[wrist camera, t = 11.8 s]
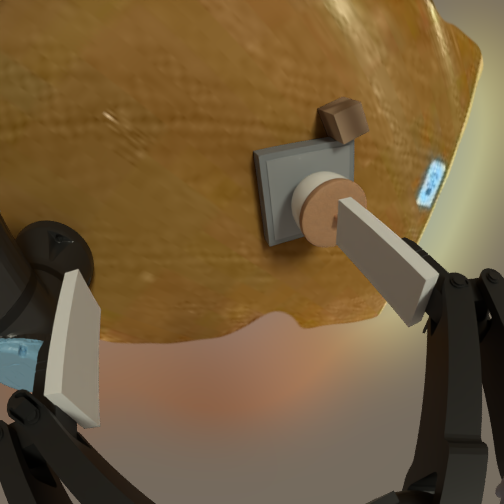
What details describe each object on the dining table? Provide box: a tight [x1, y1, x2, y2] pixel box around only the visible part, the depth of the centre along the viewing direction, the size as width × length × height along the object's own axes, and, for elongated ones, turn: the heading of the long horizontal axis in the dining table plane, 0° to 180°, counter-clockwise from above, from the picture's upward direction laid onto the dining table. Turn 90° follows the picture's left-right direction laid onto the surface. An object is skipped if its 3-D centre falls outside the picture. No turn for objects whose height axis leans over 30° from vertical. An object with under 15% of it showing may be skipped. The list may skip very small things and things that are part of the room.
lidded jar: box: [291, 171, 367, 247], centre depth 45 cm, size 11×11×9 cm
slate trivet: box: [253, 137, 354, 246], centre depth 49 cm, size 16×16×3 cm
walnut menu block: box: [318, 97, 369, 144], centre depth 43 cm, size 5×5×5 cm
